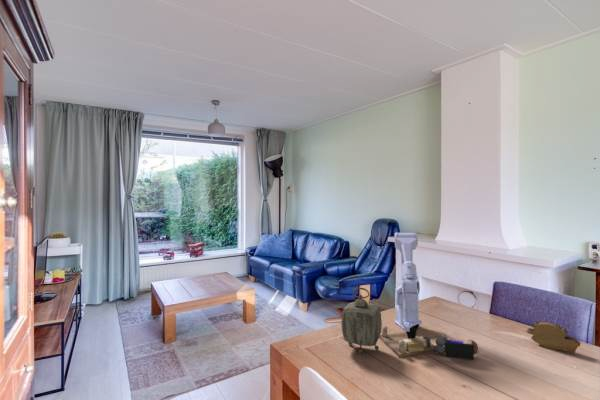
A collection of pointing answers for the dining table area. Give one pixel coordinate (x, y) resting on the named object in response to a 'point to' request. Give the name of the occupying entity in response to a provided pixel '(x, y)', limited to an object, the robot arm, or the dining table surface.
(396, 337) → the stool seat
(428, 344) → the leg bar
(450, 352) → the character figurine
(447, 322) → the dining table surface
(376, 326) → the green bag
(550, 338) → the wooden carving
